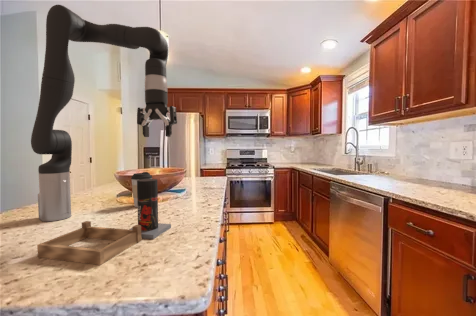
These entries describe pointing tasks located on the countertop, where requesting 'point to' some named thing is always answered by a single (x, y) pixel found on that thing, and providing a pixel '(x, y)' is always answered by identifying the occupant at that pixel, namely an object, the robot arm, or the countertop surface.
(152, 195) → the deodorant
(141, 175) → the coffee cup
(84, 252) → the wood frame
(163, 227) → the slate coaster
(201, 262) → the countertop surface
